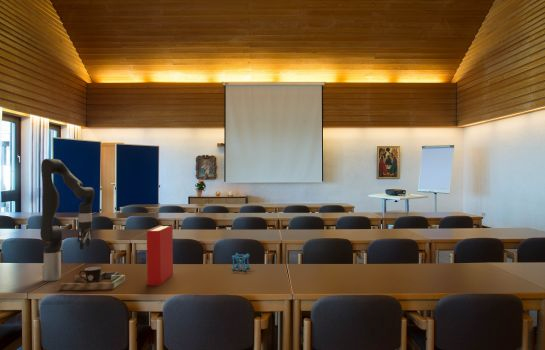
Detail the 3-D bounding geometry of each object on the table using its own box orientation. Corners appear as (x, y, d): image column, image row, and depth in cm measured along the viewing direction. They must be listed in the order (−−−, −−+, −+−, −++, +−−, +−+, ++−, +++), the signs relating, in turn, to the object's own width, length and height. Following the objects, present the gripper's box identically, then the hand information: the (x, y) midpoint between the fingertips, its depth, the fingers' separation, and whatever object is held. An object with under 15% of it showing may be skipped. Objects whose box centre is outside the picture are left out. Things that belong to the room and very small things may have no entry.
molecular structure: (231, 270, 274) (231, 255, 274) (236, 267, 284) (236, 253, 284) (245, 271, 272) (245, 256, 272) (250, 268, 282) (249, 253, 282)
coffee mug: (104, 284, 244) (104, 267, 243) (92, 288, 236) (92, 270, 236) (90, 282, 248) (90, 265, 248) (78, 286, 241) (77, 269, 241)
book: (160, 273, 268) (160, 224, 268) (172, 273, 268) (172, 224, 267) (146, 285, 241) (145, 230, 240) (159, 285, 240) (159, 230, 240)
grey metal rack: (60, 289, 233) (60, 283, 233) (82, 277, 260) (82, 272, 260) (113, 289, 233) (113, 283, 233) (129, 277, 260) (129, 271, 260)
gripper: (84, 219, 252) (83, 245, 253) (73, 222, 238) (73, 249, 238) (96, 219, 253) (96, 245, 253) (86, 222, 238) (86, 250, 239)
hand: (85, 247), depth 246 cm, fingers open, 8 cm apart
